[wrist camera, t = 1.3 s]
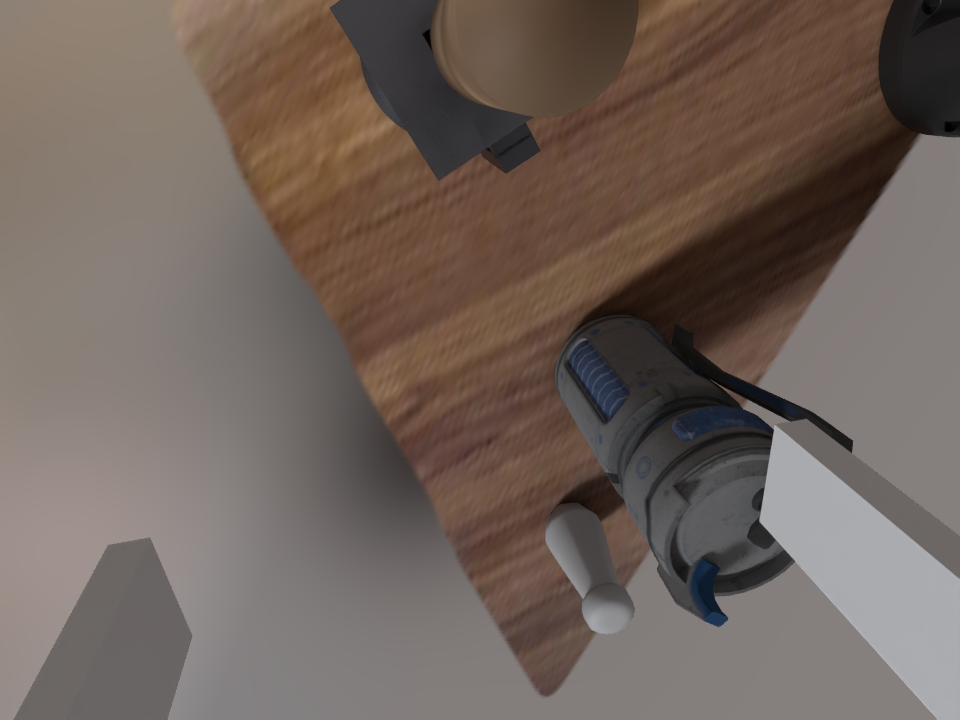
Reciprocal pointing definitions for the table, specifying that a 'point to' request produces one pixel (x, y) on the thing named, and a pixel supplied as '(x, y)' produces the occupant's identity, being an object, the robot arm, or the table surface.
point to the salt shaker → (589, 566)
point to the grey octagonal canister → (427, 89)
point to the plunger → (532, 51)
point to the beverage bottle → (680, 454)
